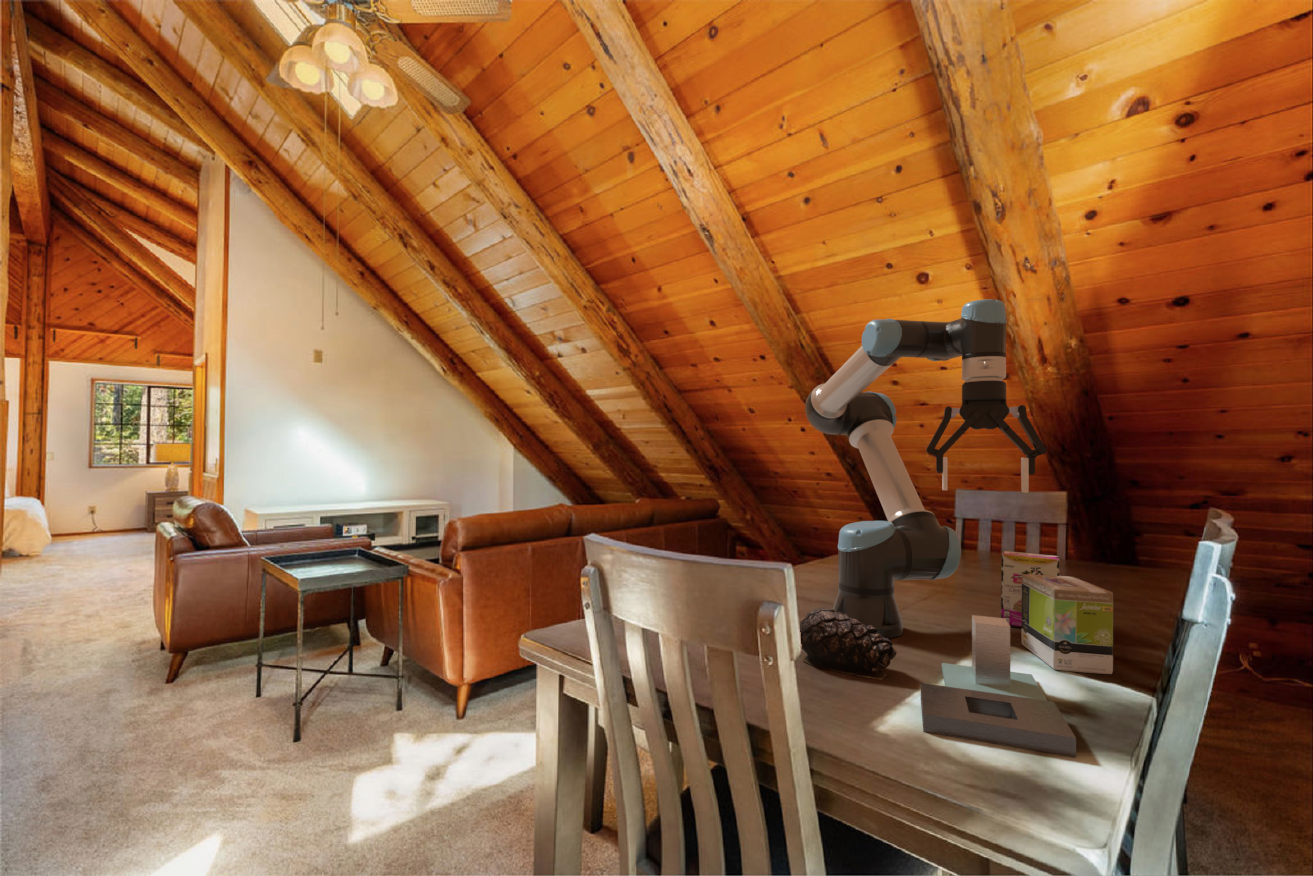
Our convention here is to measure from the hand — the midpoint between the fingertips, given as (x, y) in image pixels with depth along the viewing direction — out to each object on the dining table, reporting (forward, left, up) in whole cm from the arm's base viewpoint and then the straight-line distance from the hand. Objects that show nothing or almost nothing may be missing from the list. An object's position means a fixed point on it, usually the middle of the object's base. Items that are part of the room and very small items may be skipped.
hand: (984, 491), depth 115 cm
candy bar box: (+12, +26, -32) cm, 43 cm away
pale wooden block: (-1, -16, -31) cm, 35 cm away
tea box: (+14, +5, -32) cm, 35 cm away
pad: (-1, -16, -32) cm, 36 cm away
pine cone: (-24, -15, -32) cm, 43 cm away
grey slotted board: (-3, -32, -32) cm, 45 cm away
